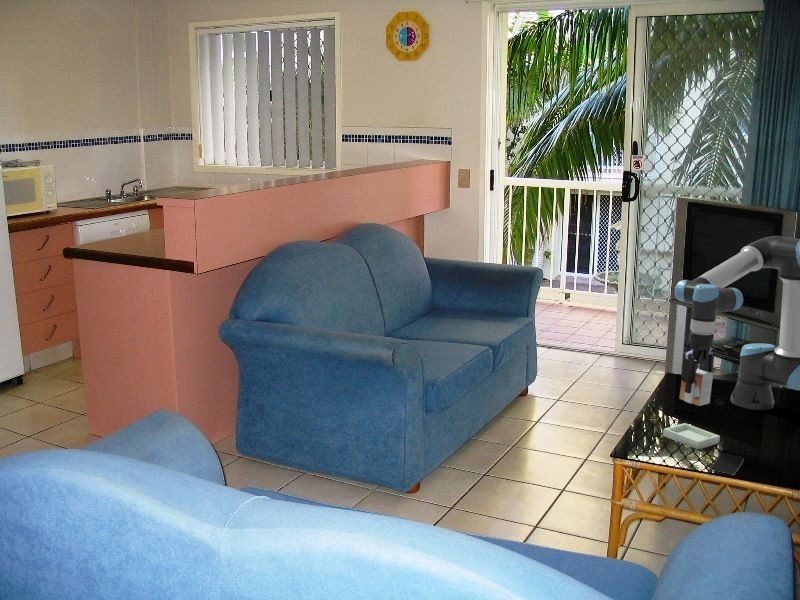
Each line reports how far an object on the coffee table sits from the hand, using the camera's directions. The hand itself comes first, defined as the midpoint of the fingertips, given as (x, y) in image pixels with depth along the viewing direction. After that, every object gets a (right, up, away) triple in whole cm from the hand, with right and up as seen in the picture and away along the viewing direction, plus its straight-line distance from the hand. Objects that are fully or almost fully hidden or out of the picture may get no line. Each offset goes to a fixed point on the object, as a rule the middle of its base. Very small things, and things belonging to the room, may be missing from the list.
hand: (694, 400), depth 285 cm
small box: (0, -1, 0) cm, 1 cm away
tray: (0, -13, +3) cm, 14 cm away
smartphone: (+4, -19, -18) cm, 26 cm away
